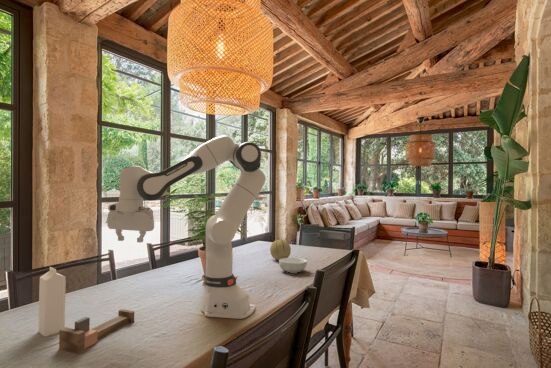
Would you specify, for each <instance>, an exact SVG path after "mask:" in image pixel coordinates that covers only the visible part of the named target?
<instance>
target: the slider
mask: <svg viewBox="0 0 551 368" xmlns="http://www.w3.org/2000/svg"><path fill="white" fill-rule="evenodd" d="M90 318H91V317H88V316H85V317H82V318H80V319H77V320H76V321H74V329H76V330H81V331H85V347H84V350H85V349H87V348H89V347H90V346H92V345H95V344H97V343H98V340H97V331H96V330H91V329H92V328H90V325H91V323H90V322H91V321H90V320H91V319H90Z"/></svg>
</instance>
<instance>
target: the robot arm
mask: <svg viewBox="0 0 551 368" xmlns="http://www.w3.org/2000/svg"><path fill="white" fill-rule="evenodd" d="M261 161H262V151H261V149H260V147H259V145H257V144H256V143H254V142H253V141H245V142H242V143H240V144H236V143H235V141H234V140H233V139H232V138H231V137H230V136H228V135H225V134H224V135H220V136H219V135H218V136H216V137H213V138H212V139H210V140H207V141H206V142H204V143H202V144H200V145H198V146H197V147H196V148H194V149H193V150H192V151H191V152H190V153H189V154H188V155H187V156H185V157H184V158H183V159H182V160H180V161H178V162H177V163H175V164H173V165H172V166H171V165H170V167H167V168H166V169H164V170H162V171H159V172H151V171H149V170H147V169H146V168H143V166H140V165H131V166H125V167H123V168H122V169H121V171H120V174H119V179H118V180H119V181H118V182H119V183H118V188H119V190H118V191H119V197H118V202H115V203H112V204H109V205H108V207H107V209H108V213H107V223H106V224H107V225H106V226H107V227H108V229H110V230H115V233H116V236H117V241H118V242H119V241H120V242H123V241H124V240H125V235H123V234H122V232H123V230H124V231H135V232H136V231H137V232H138V233H139V237H137V238H136V242H137V243H143V242H144V238H145V236H146V234H147V232H152V231H153V230H154V229H155V219H154V212H153V211H154V210H153V209H152V208H150V207H148V206H147V207H145V206H144V200H146V201H156V200H158V199H160V198H161V197H163V196H164V195H165V194H166V193H167V192H168V189H169V188H171V186H173V185H174V184H176V183H177V182H179V181H181V180H183V179H186V177H189V176H191V175H195V174H202V173H205V172H208V171H211V170H213V169H215V168H216V167H218V166H220V165H221V164H222V165H223V163H225V162H229V163H231V164H232V165H233V166H234V167H235V168H236V169H238V170H240V175H239V177H238V179H237V180H236V182H235V183H234V185H233V186H232V187H231V189H230V190H229V191H228V193H227V195H226V197H224V199H223V202H222V204H221V205H220V206H219V209H218V211H217V212H216V214H214V215H211V216H210V217H209V218H208V219H207V221H206V223H205V274H204V295H203V301H202V304H201V308H200V310H201V312H203V313H204V315H205V317H209V318H223V319H225V318H226V319H238V320H239V319H240V320H241V319H245V318H248V317H250V316H251V315H252V314H253V313H254V312H255V310H256V306H255V304H253V303H251V300H250V296H249V293H248V292H247V291H245V290H244V289H243V288H242V287H241V286H240V285H239V284H238V283H237V280H238V279H239V278H238V277H239V276H238V275H237V276H235V275H234V273H233V264H234V262H233V258H234V257H233V256H234V255H233V244H232V241H233V239H234V238H235V235H236V234H237V231H238V230H239V228H240V226H241V225H242V222H243V221H244V219H245V216H246V214H247V212H248V211H249V210H250V208H251V207H252V206H253V203H254V202H255V200H257V197H258V196H259V194H260V193H261V191H262V189H263V187H264V184H265V181H266V175H265V173H264V171H262V170H261V169H260V168H261Z"/></svg>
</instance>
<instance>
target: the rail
mask: <svg viewBox="0 0 551 368" xmlns="http://www.w3.org/2000/svg"><path fill="white" fill-rule="evenodd" d="M117 314H118V315H117V316H115V317H114V318H112V319H109V320H107V321H105V322H103V323H101V324H99V325H97V326H95V327H93V328H90V329H91V330H96V331H97V341H98V340H101V339H102V338H104V337H106V336H108V335H109V334H111V333H113V332H115V331H117V330H119V329H121V328H122V327H125V326H126V325H128V324H133V323H135V311H134V310H128V309H123V308H121V309H119V310H118V313H117ZM58 334H59V339H58V340H59V341H58V350H60V351H63V352H64V351H65V352H69V353H74V354H78V355H80V354H82V353H83V352H85V349H84V347H85V331H81V330H76V329H75V328H71V327H67V326H65V328H63V329H61V330H60V332H58Z"/></svg>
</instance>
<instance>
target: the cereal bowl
mask: <svg viewBox="0 0 551 368" xmlns="http://www.w3.org/2000/svg"><path fill="white" fill-rule="evenodd" d="M307 262H308V260H307V259H304V258H300V257H288V258H283V259H280V260H278V263H279V267H280V269H281V270H283V271H285V272H286V271H287V272H286V273H288V272H290V273H289V274H298V273H297V272H302V271H304V270H305V269H306V267H307V264H308V263H307Z"/></svg>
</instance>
